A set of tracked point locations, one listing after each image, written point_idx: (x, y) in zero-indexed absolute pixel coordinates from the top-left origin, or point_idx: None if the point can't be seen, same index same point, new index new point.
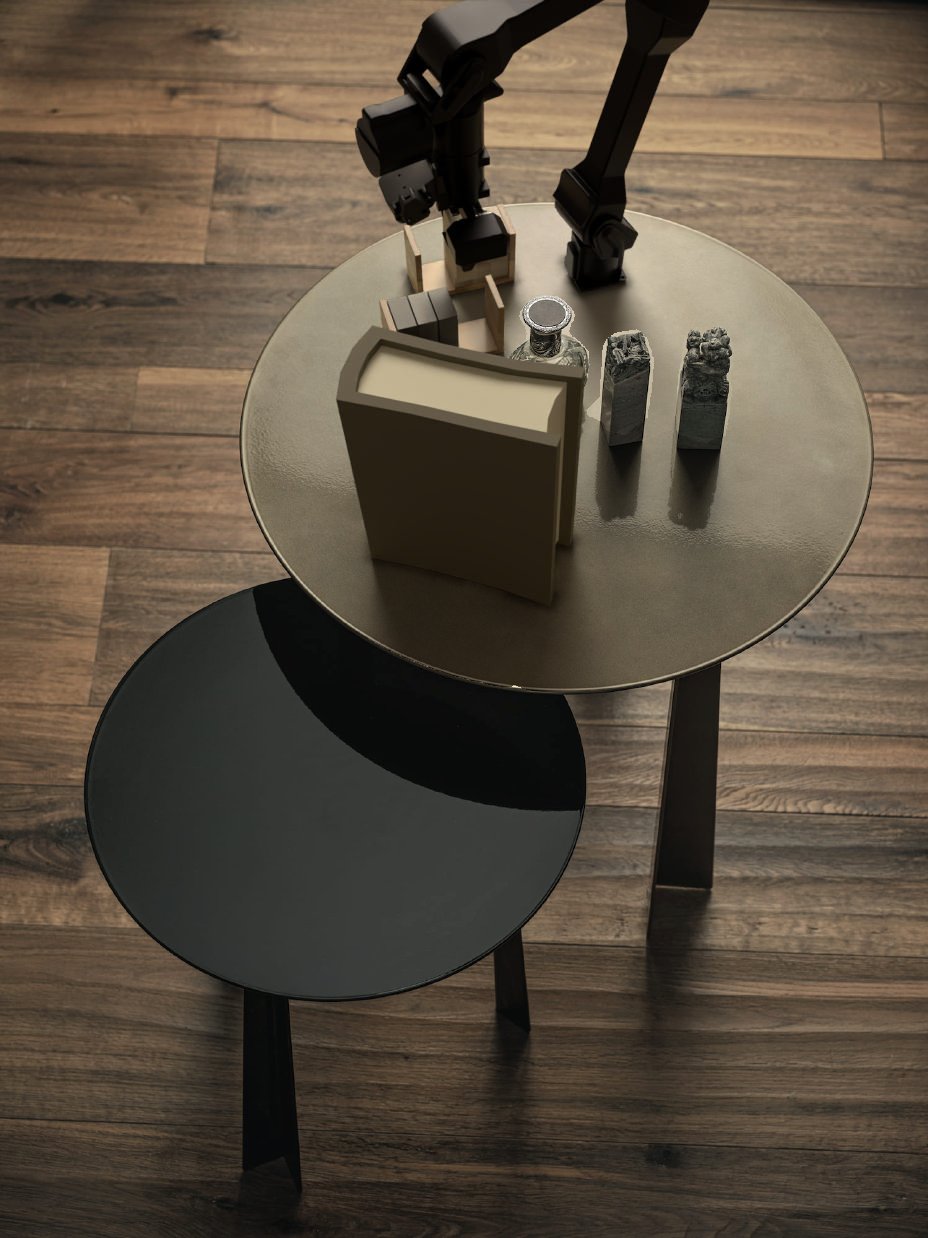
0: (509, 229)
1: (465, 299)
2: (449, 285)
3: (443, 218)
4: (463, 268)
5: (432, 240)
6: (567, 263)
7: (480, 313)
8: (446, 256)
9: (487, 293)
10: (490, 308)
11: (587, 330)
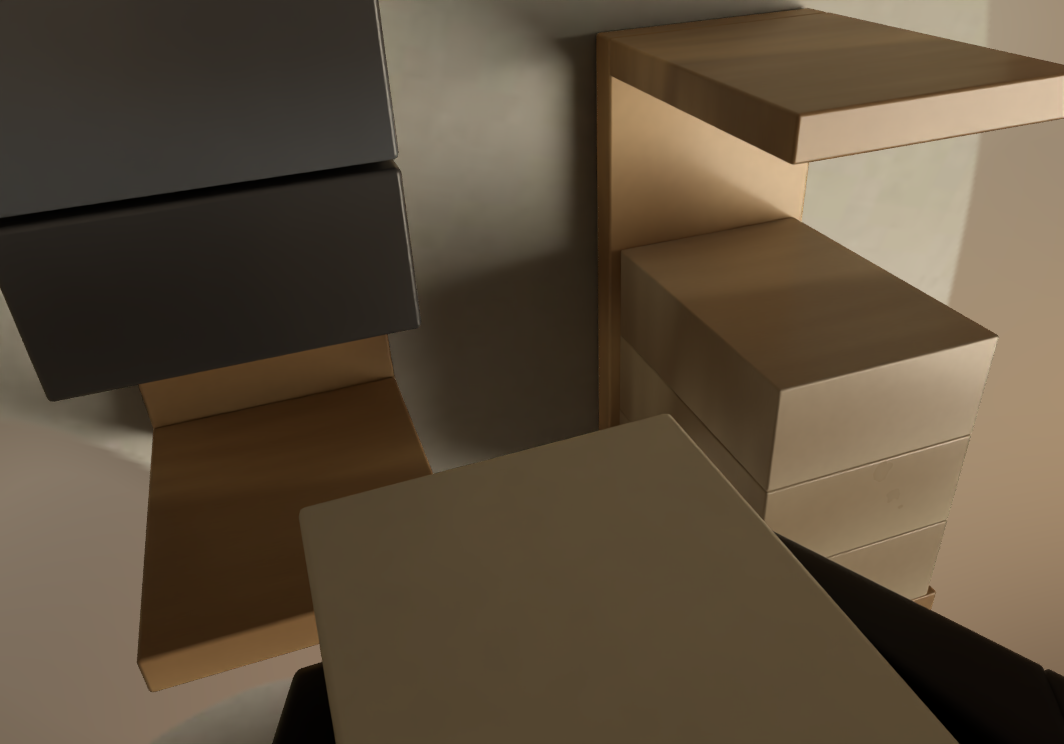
0: None
1: (552, 281)
2: (643, 224)
3: (962, 711)
4: (280, 731)
5: (929, 169)
6: None
7: (448, 342)
8: (630, 430)
9: None
10: (313, 496)
11: (275, 721)
